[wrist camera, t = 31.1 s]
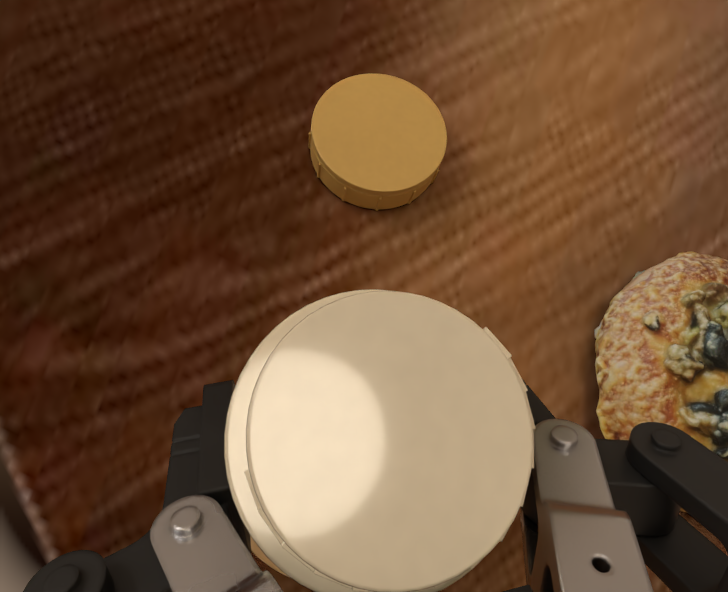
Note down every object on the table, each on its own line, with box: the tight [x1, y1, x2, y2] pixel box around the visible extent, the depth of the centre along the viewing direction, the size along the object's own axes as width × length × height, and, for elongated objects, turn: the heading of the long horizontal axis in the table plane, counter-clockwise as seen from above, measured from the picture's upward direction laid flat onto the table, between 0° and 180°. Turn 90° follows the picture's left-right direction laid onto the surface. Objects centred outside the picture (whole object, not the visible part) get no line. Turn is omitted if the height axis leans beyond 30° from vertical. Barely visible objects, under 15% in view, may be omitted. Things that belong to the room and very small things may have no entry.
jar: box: [224, 289, 536, 592], centre depth 13 cm, size 6×6×10 cm
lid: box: [308, 74, 447, 211], centre depth 23 cm, size 6×6×2 cm
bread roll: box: [594, 252, 728, 512], centre depth 20 cm, size 11×11×5 cm
